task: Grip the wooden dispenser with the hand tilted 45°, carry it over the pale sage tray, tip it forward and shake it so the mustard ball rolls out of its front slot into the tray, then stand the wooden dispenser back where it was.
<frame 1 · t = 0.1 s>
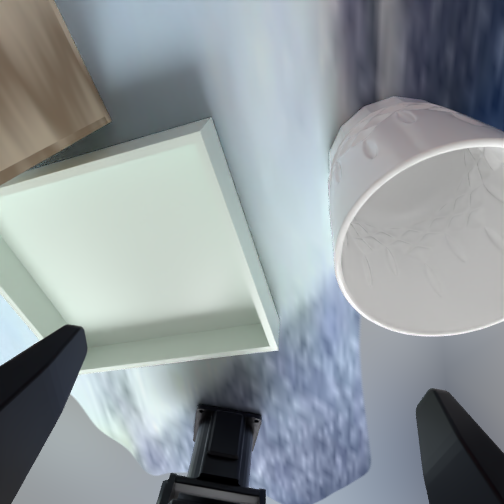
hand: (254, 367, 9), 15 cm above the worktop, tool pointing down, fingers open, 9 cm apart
tray: (134, 259, 26), on the worktop
white cup: (386, 157, 21), on the worktop
wooden dispenser: (35, 79, 20), on the worktop, touching ball
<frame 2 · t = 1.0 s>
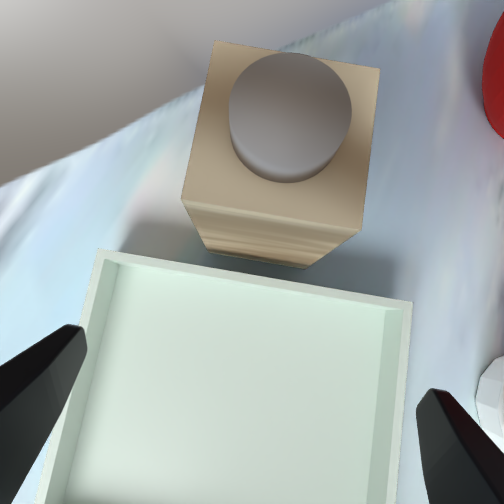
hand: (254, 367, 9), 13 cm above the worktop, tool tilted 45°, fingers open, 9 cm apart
tray: (231, 410, 22), on the worktop
wooden dispenser: (264, 214, 24), on the worktop, touching ball
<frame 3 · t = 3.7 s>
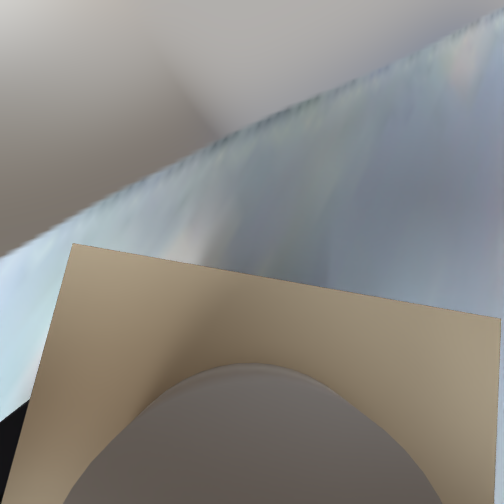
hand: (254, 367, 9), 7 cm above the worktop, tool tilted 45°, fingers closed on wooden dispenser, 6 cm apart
wooden dispenser: (242, 379, 15), on the worktop, touching ball, gripper
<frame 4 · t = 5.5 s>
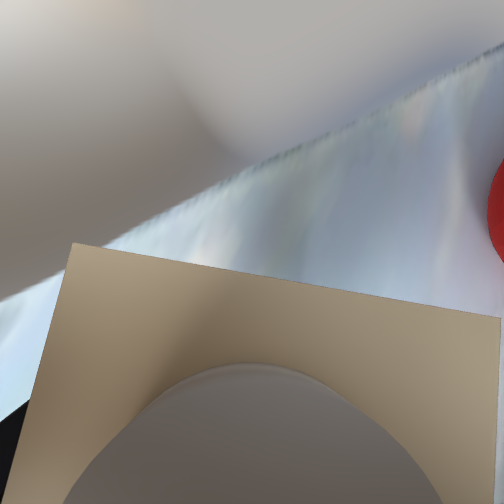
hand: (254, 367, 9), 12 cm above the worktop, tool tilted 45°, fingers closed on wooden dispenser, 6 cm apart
wooden dispenser: (243, 378, 15), point 6 cm above the worktop, touching ball, gripper
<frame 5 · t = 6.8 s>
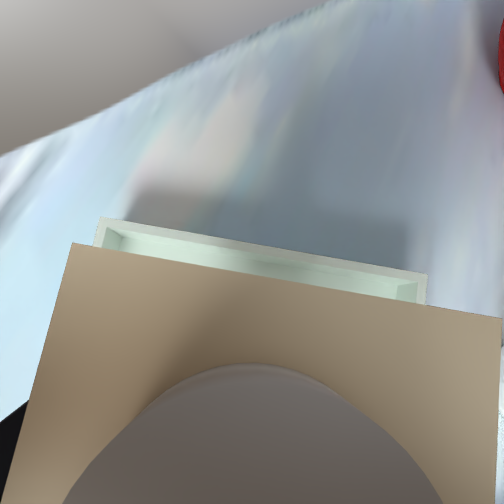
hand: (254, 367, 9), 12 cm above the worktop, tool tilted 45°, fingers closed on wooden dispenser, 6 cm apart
tray: (238, 387, 21), on the worktop
wooden dispenser: (242, 379, 15), point 6 cm above the worktop, touching ball, gripper
when the fingers open (8 cm above the worktop, at t = 14.2 s): wooden dispenser drops 1 cm, on the worktop.
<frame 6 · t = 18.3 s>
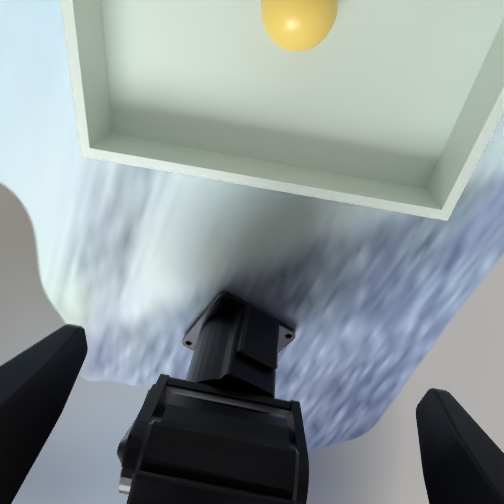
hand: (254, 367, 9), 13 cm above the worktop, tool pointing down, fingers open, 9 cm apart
ball: (298, 7, 14), point 2 cm above the worktop, tilted 170°, touching tray
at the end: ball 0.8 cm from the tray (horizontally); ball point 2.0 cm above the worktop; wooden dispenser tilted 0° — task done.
